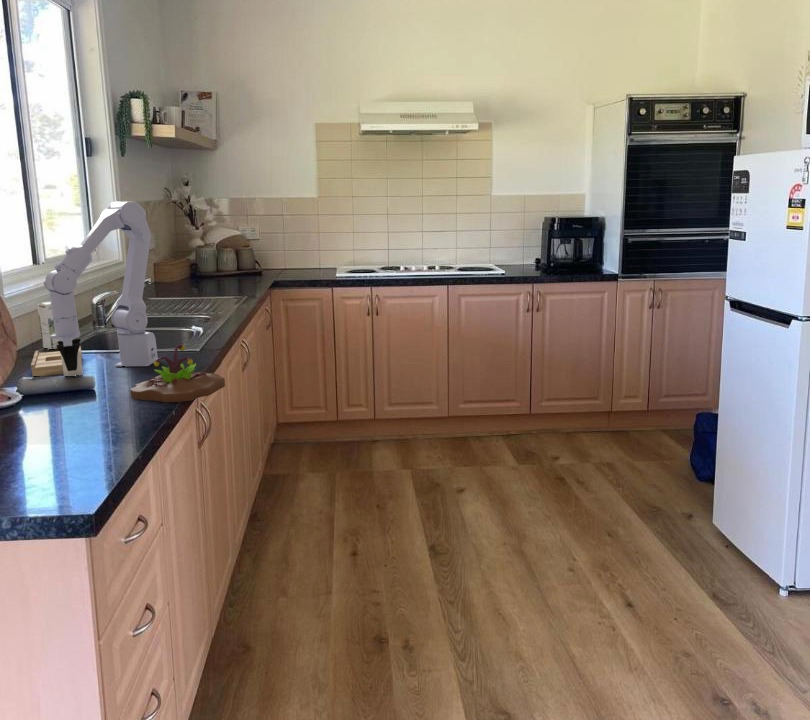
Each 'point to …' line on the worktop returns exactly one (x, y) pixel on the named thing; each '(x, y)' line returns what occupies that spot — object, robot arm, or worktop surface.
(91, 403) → the worktop surface
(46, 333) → the syrup box
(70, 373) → the cream small block
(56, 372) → the jig plate
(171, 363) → the plant
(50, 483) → the worktop surface
